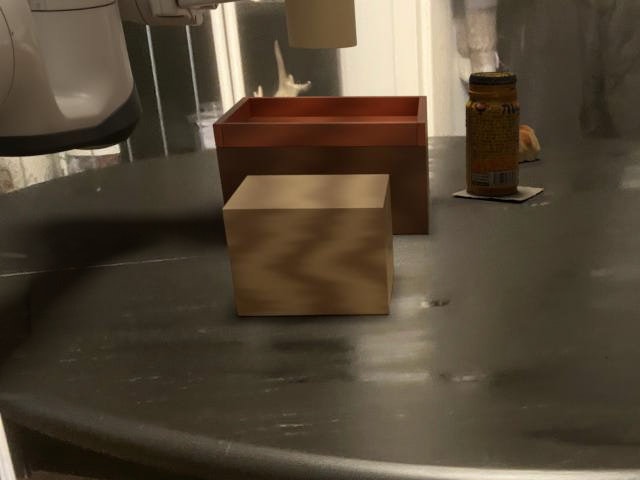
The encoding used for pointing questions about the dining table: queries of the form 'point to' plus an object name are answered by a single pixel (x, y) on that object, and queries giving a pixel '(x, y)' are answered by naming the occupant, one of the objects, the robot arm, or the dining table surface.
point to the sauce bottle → (321, 24)
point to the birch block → (311, 244)
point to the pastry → (527, 144)
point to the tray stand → (332, 145)
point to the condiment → (493, 138)
